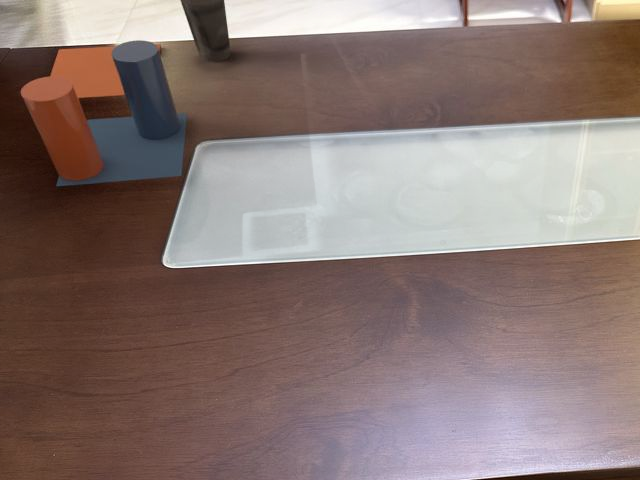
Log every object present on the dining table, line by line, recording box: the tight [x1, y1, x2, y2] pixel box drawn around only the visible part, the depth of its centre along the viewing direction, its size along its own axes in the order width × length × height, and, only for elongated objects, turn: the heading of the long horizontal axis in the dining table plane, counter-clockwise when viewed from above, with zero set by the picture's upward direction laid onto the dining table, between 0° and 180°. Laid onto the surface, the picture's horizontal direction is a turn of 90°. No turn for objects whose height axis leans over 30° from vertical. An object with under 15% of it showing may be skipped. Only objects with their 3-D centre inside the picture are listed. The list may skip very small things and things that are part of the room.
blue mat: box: [55, 112, 188, 187], centre depth 96 cm, size 15×15×1 cm
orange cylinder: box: [20, 76, 104, 181], centre depth 88 cm, size 6×6×11 cm
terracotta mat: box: [49, 43, 162, 99], centre depth 108 cm, size 15×15×1 cm
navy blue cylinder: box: [111, 39, 180, 140], centre depth 95 cm, size 6×6×11 cm
